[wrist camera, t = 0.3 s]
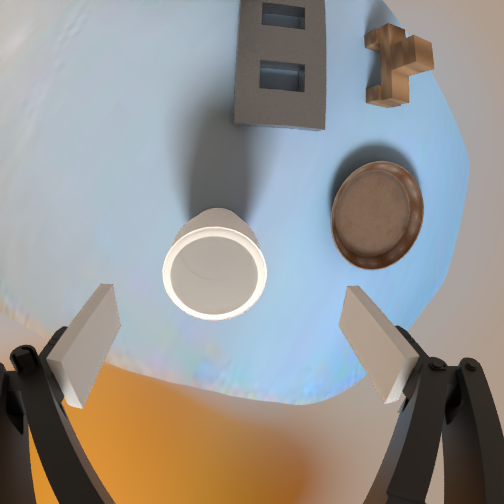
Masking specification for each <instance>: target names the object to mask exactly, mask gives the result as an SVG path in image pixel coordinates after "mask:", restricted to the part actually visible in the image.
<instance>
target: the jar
mask: <svg viewBox="0 0 504 504" xmlns="http://www.w3.org/2000/svg"><path fill="white" fill-rule="evenodd" d="M266 278H267V269H266V263H265V260H264V257H263V255H262V253H261V251H260V247H259V243H258V241H257V238H256V236H255V234H254V232H253V231H252V229H251V228H250V227H249V226H248V225H247V224H246V223H245V222H244V221H243V220H242V219H240V218H239V217H238V216H237V215H236V214H235V213H234V212H232V211H230V210H228V209H224V208H211V209H207V210H205V211H203V212H201V213H200V214H198V215H197V216H196V217H194V218H192V219H191V220H190V221H188V222H187V223H186V224H185V225H184V226H183V227H182V228H181V229H180V231H179V232H178V234H177V235H176V237H175V239H174V242H173V244H172V247H171V248H170V250H169V251H168V253H167V255H166V258H165V261H164V266H163V282H164V286H165V289H166V291H167V294H168V295H169V297H170V299H171V300H172V301H173V302H174V304H175V305H176V306H177V307H179V308H180V309H181V310H182V311H184V312H185V313H187V314H189V315H191V316H193V317H196V318H199V319H203V320H211V321H218V320H226V319H230V318H233V317H236V316H238V315H240V314H242V313H244V312H245V311H247V310H248V309H249V308H251V307H252V306H253V305H254V304H255V303H256V301H257V300H258V299H259V297H260V296H261V294H262V292H263V290H264V287H265V284H266Z"/></svg>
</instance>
